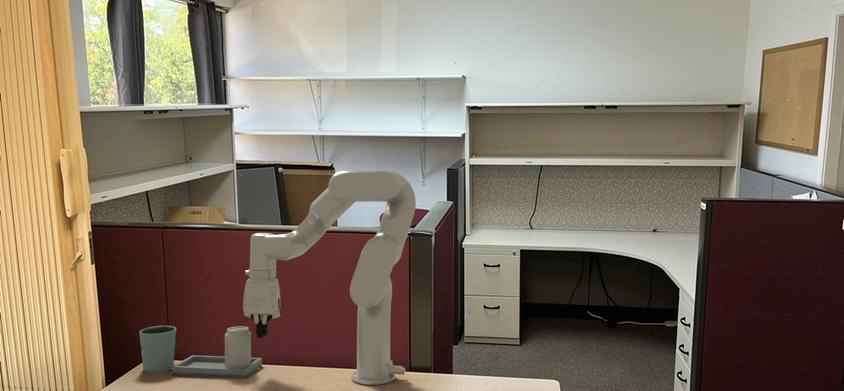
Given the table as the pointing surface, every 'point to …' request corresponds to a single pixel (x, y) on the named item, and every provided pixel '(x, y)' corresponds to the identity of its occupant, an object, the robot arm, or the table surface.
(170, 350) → the green cup
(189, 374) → the tray
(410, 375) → the table surface
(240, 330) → the can
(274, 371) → the table surface
